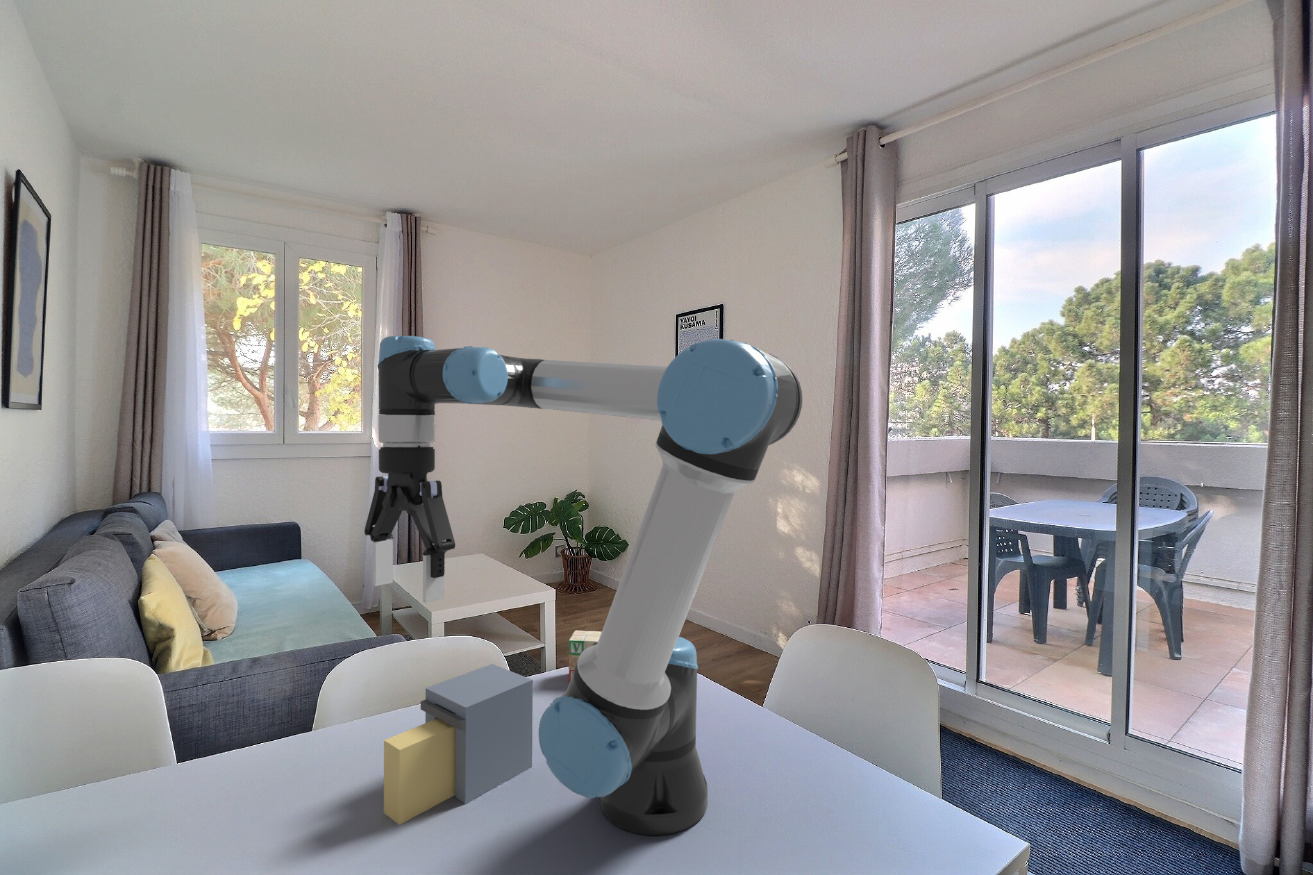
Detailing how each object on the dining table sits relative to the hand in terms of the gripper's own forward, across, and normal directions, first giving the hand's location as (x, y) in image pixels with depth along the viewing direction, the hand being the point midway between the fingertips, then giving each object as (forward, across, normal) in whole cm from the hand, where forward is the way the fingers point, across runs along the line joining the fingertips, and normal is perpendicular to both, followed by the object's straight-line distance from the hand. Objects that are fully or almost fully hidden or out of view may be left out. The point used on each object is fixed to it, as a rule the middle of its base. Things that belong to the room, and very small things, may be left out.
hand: (407, 591), depth 88 cm
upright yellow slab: (+29, -5, -2) cm, 29 cm away
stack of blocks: (+29, 0, -48) cm, 56 cm away
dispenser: (+28, -5, -9) cm, 30 cm away
